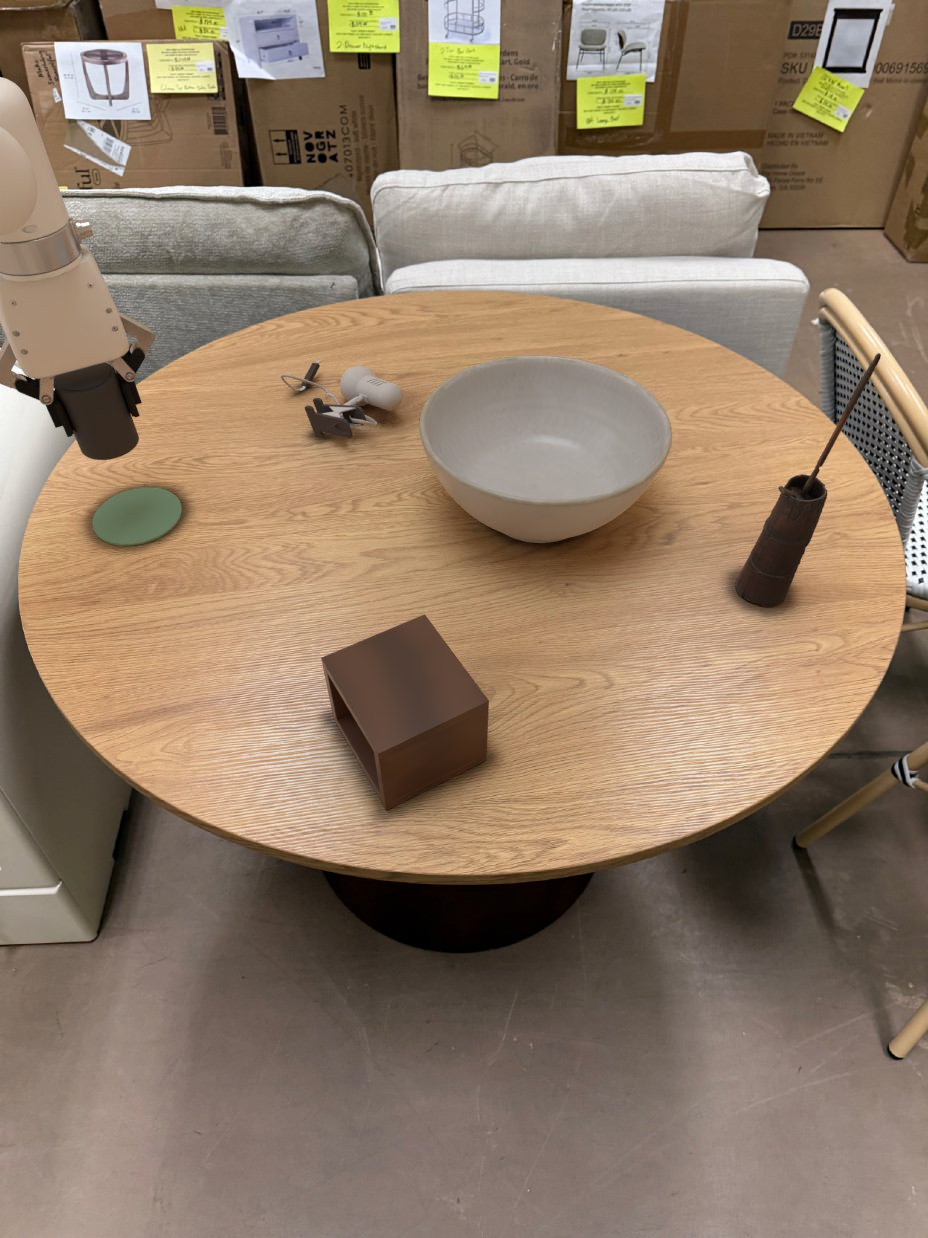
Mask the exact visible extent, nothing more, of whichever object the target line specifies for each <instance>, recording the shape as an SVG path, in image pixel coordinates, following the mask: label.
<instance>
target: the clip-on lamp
mask: <svg viewBox="0 0 928 1238" xmlns="http://www.w3.org/2000/svg"><path fill="white" fill-rule="evenodd" d="M321 363H322V360H321V359H317V360H316V361H315V362H312V363H311V364H310V367H308V370H307V372H306V374H305V376H304V378H302V377H299V376H295V375H291V374H287V373H286V374H285V373H282V374H280V376H279V377H280V379H281V381H282V382H283V383H284V384H285V385H287V386H288V387H289V388H291V389H292V390H293V391H297V392H302V391H305V390H306V388H310V386H311V385H312V386H314V387H317V388H319V389H321V390H323V392H325V393H326V394H325V395H324V397H325V399H326V400H328V399H329V398H331V399H332V400H333V401H334V403H335V404H332V403H331V404H330V403H329V404H328V403H324V400H323V399H322V398H321V397H314V398H313V399H312V403H313V405H314V407H313V406H312V405H306V406H304V411H305V413H306V416H307V418H308V421H309V423H310V426H311V429H312V432H313V434H314V435H315V436H316V437H319V438H320V437H323V435H324V434H329V435H333V436H337V437H341V438H345V439H351V438H352V437H353V436H354V432H353V429H352V428H355V427H360V426H368V427H372V428H376V427H377V426H378V422H377V421H376V420H375V419H373V418H372V417H370V416H368V415H365V411H364V410H363V408H362V407H364V406H367V405H370V406H374V407H377V408H379V409H382V410H385V411H389V412H390V411H395V410H397V409H398V408H399V407H400V406H401V404H402V402H403V390H402V388H401V387H400V386H399V385H398V384H396V383H394V382H391V381H388V380H385V379H382V378H380V377H377V376H376V374H375V373H374V372H373V371H372V370H371V369H370V368H368V367H366V366H364V365H363V366H362V365H355V366H352V367H348V369H346V370H345V371H344V373H343V374H342V376H341V378H340V381H339V390H340V393H341V395H342V397H343V399H344V400H345V401H347V402H345V403H343V404H340V403H339V401H338V399H337V398H336V396H335V395H334V394H333V393H330V392H329V390H328V389H327V388H326V387H324V385H320V384H318V383H316V382H313V380H314V379H315V376H316V375H317V373H318V371H319V369H320V367H321V365H320V364H321ZM285 378H289V379H293V380H297V381H301V384H300V385H301V386H302V387H300V388H295V387H294V386H292V385H291V384H290V383H288V381H287V380H286V379H285Z"/></svg>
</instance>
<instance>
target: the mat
mask: <svg viewBox="0 0 928 1238" xmlns="http://www.w3.org/2000/svg"><path fill="white" fill-rule="evenodd" d="M182 515H183V505H182V503H181V500H180V498H178V497H177V495H176V494H174V493H173V492H172V491H169V490H166V489H164V488H159V487H151V486H150V487H149V486H146V487H136V488H131V489H128V490H125V491H122V492H119V493H117V494H115V495H113V496H112V497H110V498H109V499H106V500H105V501H104V502H102V504H101V505H100V506H98V508H97V509H96V511H95V513H94V515H93V517H92V523H91V524H92V529H93V532H94V533H95V535H96V536H97V537H98V538H99V539H100V540H102V541H104V542H105V543H108V544H109V545H114V546H120V547H133V546H139V545H143V544H148V543H151V542H153V541H157V540H158V539H160V538H162V537H163V536H165V535H167V534H168V533H169V532H171V531H172V530H173V529H175V527H176V526H177V525H178V523H179V522H180V520H181V518H182Z"/></svg>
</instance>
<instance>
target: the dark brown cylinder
mask: <svg viewBox="0 0 928 1238" xmlns="http://www.w3.org/2000/svg"><path fill="white" fill-rule="evenodd" d="M54 390H55V391H56V394H57V396H58V398H59V400H60V402H61V404H62V407H63V409H64V411H65V414H66V416H67V418H68V421H69V423H70V425H71V428H72V430H73V432H74V434H73V436H74V438H75V440H76V442H77V445H78V447H79V449H80V452H81V453H82V455H84V456H85V457H86V458H89V459H91V460H95V461H108V460H109V461H110V460H114V459H118V458H120V457H123V456H125V455H127V454H129V453H130V452H131V451H133V450H134V449H135V448H136V447H137V445H138V443H139V441H140V436H139V433H138V430H137V427H136V425H135V422H134V419H133V417H132V415H131V413H130V411H129V408H128V405H127V402H126V400H125V397H124V394H123V391H122V388H121V386H120V383H119V380H118V377H117V374H116V370H115V368H114V367H113V366H112V365H111V364H110V363H109V362H105V363H101V364H97V365H94V366H90V367H86V368H83V369H79V370H75V371H71V372H67V373H64V374H60V375H56V376H54Z"/></svg>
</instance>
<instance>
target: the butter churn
mask: <svg viewBox="0 0 928 1238" xmlns="http://www.w3.org/2000/svg"><path fill="white" fill-rule="evenodd" d="M881 357H882V354H881V353H880V352H877V353H876V354H875V356H874V358H873V359H872V361H871V362H870V363H869V365H868V367H867V369H866V370H865V372H864V373H863V375H862V377H861V379H860V380H859V381H858V384H857V386H856V387H855V390H854V392H853V394H852V395H851V398H850V399H849V401H848V403H847V405H846V407H845V409H844V411H843V413H842V415H841V417H840V419H839V421H838V422H837V425H836V427H835V428H834V431H833V432H832V434H831V435H830V438H829V439H828V441H827V443H826V445H825V447H824V449H823V451H822V453H821V455H820V457H818V460H817V463H816V465H815V466H814V469H813V470H812V471H811V474H810V475H809V474H805V473H801V474H797V475H794V476H792V477H790V478H789V480H787V482H786V484H785V485H784V486H783V485H780V486H778V487H777V489H778V491H779V492H780V493H779V497H778V499H777V501H776V502H775V504H774V506H773V507H772V509H771V512H770V514H769V516H768V517H767V518H766V520H765V521H764V524H763V528H762V530H761V532H760V534H759V536H758V538H757V541H756V542H755V544H754V546H753V548H752V549H751V550H750V552H749V556H748V557H747V559H746V561H745V563H744V565H743V567H742V569H741V570H740V573H739V574H738V576H737V577H736V578H735V583H734V584H735V590H736V593H737V594H738V596H739V598H743V599H745V600H746V601H748V602H750V603H752V604H756V605H758V606H760V607H763V608H774V607H777V606H779V605H781V604H782V603H783V602H784V601H785V598H786V596H787V595H788V592H789V590H790V588H791V585H792V583H793V580H794V578H795V575H796V573H797V572H798V568H799V566H800V565H801V561H802V559H803V556H804V555H805V553H806V548H807V547H808V546H809V544H810V543H811V541H812V539H813V537H814V533H815V530H816V528H817V526H818V523H819V521H820V518H821V514H822V513H823V509H824V507H825V503H826V501H827V498H828V489H827V488H826V484H825V483H823V482H822V480H820V479H819V477H817V476H818V475H819V474H820V471H821V469H820V468H821V467H823V466H824V464H825V462H826V460H827V458H828V456H829V455H830V452H831V451H832V449H833V447H834V445H835V444H836V441H837V439H838V438H839V435H840V434H841V432H842V430H843V428H844V426H845V425H846V422H847V421H848V419H849V417H850V416H851V414H852V411H853V410H854V408H855V406H856V404H857V402H858V400H859V399H860V397H861V396H862V394H863V392H864V390H865V388H866V386H867V384H868V383H869V381H870V379H871V377H872V375H873V373H874V372H875V369H876V367H877V366H878V364H879V363H880V361H881Z"/></svg>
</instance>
